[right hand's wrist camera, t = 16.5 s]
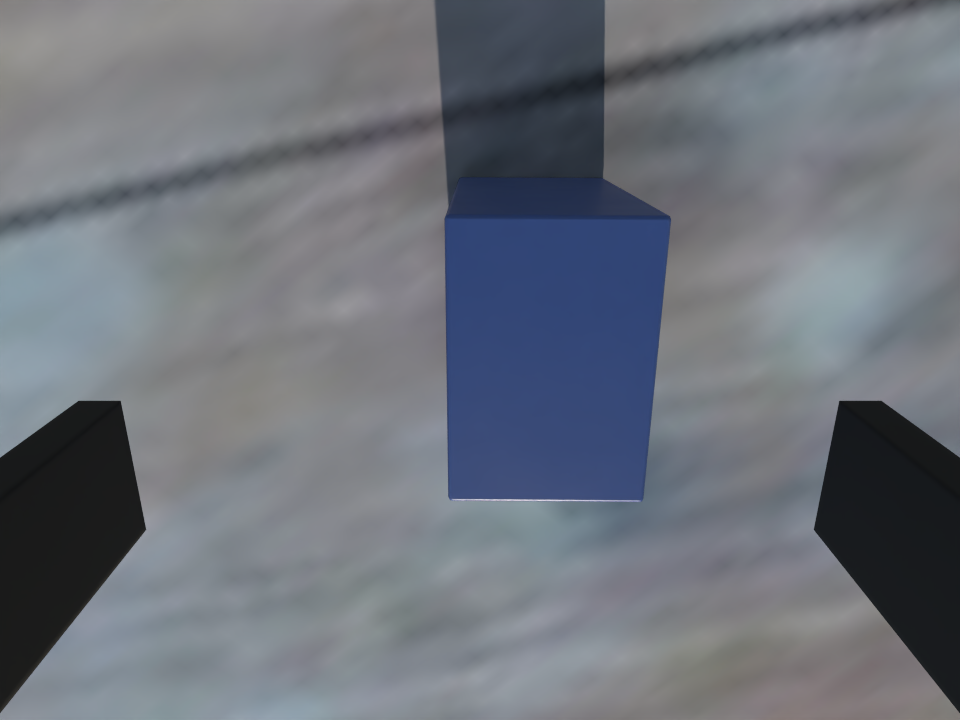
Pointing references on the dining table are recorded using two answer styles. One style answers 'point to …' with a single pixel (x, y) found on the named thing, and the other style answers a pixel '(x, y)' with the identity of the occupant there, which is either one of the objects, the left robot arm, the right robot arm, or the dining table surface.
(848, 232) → the dining table surface
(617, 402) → the block
